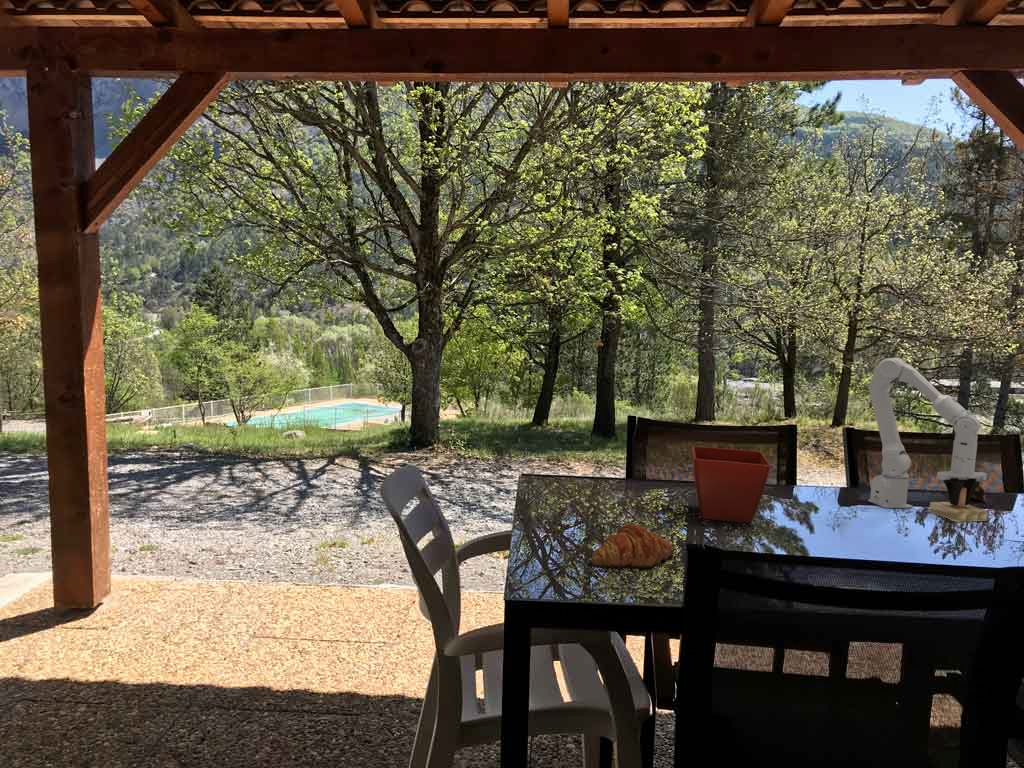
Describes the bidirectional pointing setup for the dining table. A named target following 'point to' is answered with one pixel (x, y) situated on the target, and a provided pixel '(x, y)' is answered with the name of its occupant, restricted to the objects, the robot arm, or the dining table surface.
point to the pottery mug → (980, 493)
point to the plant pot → (729, 482)
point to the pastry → (632, 549)
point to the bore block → (958, 512)
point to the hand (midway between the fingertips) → (958, 504)
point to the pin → (961, 498)
